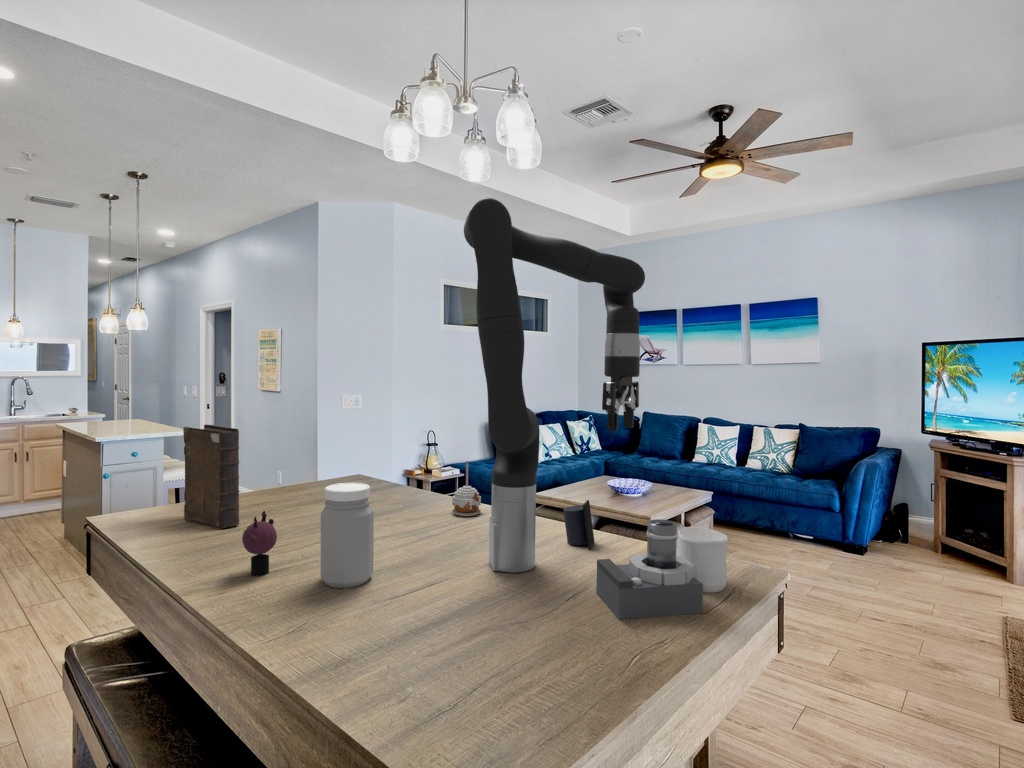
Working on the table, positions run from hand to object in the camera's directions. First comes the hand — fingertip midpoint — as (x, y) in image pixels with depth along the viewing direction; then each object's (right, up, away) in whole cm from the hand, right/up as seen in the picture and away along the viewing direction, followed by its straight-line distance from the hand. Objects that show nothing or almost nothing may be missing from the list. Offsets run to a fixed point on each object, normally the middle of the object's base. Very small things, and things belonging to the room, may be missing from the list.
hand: (620, 429), depth 124 cm
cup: (+13, -29, -14) cm, 35 cm away
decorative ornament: (-36, -27, +36) cm, 58 cm away
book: (-101, -26, +22) cm, 107 cm away
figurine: (-73, -28, -12) cm, 79 cm away
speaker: (-8, -28, +9) cm, 31 cm away
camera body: (0, -29, -24) cm, 37 cm away
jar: (-55, -28, -15) cm, 64 cm away
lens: (+3, -24, -23) cm, 33 cm away
